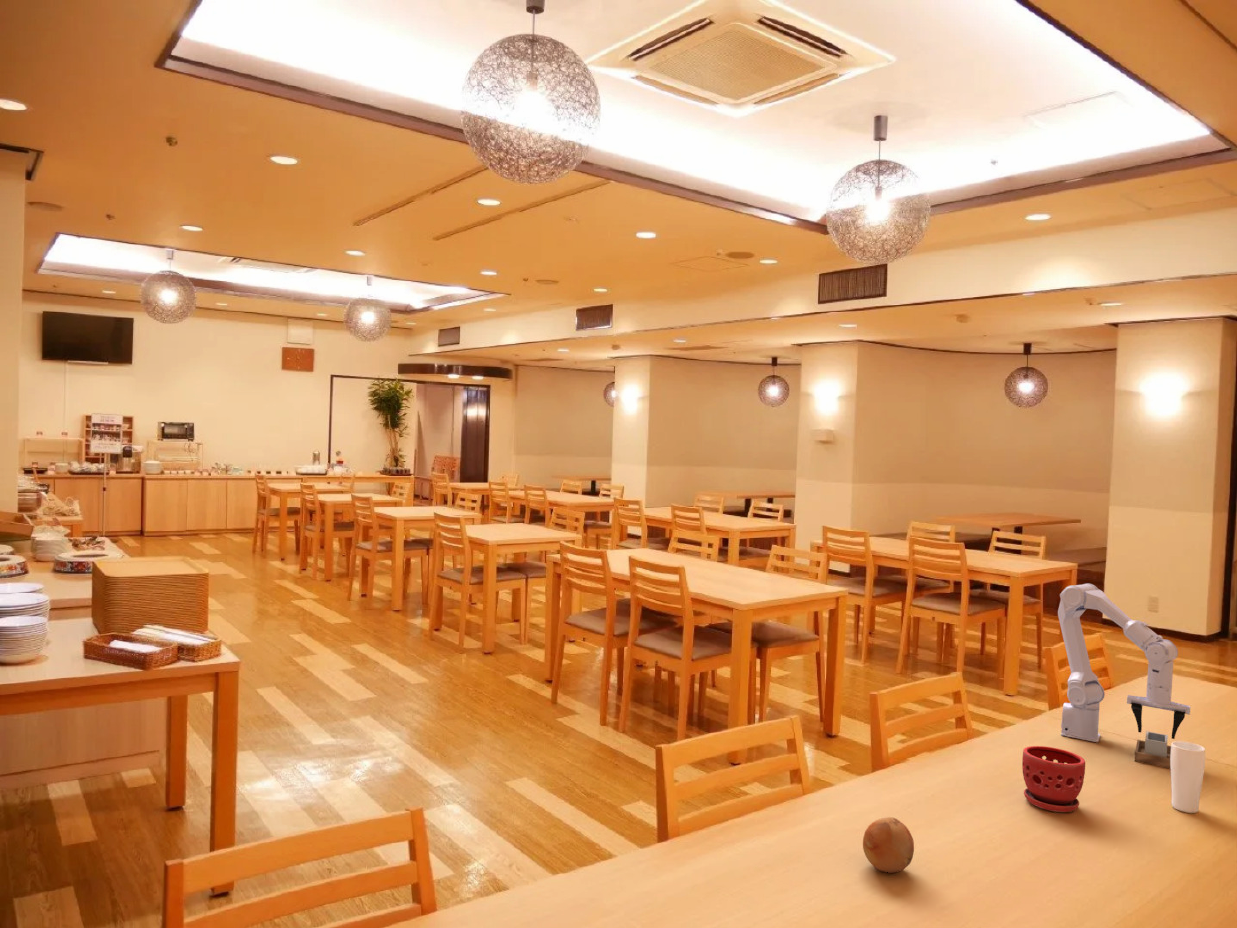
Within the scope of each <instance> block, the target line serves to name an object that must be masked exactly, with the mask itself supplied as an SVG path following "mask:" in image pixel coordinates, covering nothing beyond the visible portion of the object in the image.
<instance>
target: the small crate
mask: <svg viewBox="0 0 1237 928" xmlns="http://www.w3.org/2000/svg"><path fill="white" fill-rule="evenodd" d="M1168 738H1169V735H1168V734H1163V733H1160V732H1159V733H1158V732H1154V731H1149V730H1147V731H1146V733H1145V739H1144V741H1145V753H1146V754H1151V755H1156V756H1161V757H1166V758H1167V745H1168Z"/></svg>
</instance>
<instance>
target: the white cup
mask: <svg viewBox="0 0 1237 928" xmlns="http://www.w3.org/2000/svg"><path fill="white" fill-rule="evenodd" d="M1170 746H1171V752H1170V768H1171V769H1170V768H1169V769H1170V785H1171V786H1170V787H1171V790H1170V791H1171V802H1170V803H1171V804H1170V805H1171V806H1172V808H1173V809H1175V810H1177V811H1179V812H1183V813H1187V814H1195V813H1197V812H1198V811H1199V809H1200V798H1201V791H1202V787H1203V779H1204V773H1205V768H1206V767H1205V766H1206V748H1205V747H1203V746H1202V745H1201V744H1197V743H1194V742H1190V741H1183V740H1176V741H1172V742H1171V744H1170Z"/></svg>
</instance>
